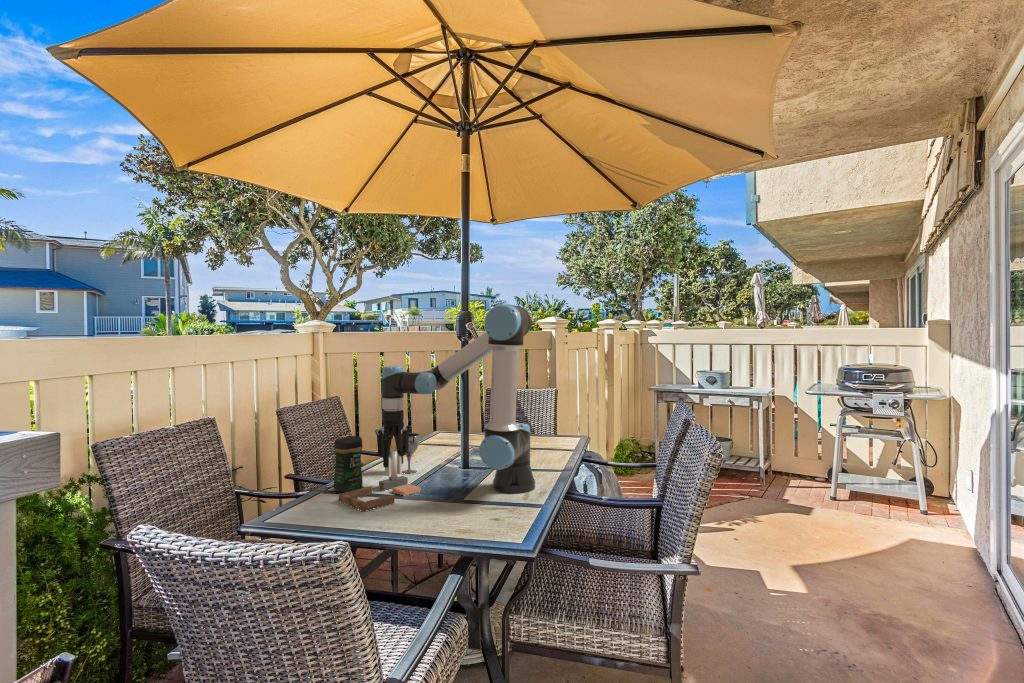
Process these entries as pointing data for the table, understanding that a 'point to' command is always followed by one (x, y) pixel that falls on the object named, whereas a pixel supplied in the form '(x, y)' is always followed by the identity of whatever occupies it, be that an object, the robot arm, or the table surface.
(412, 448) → the wine glass
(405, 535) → the table surface
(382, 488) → the scraper
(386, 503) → the frame
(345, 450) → the coffee jar
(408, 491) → the tile
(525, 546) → the table surface
